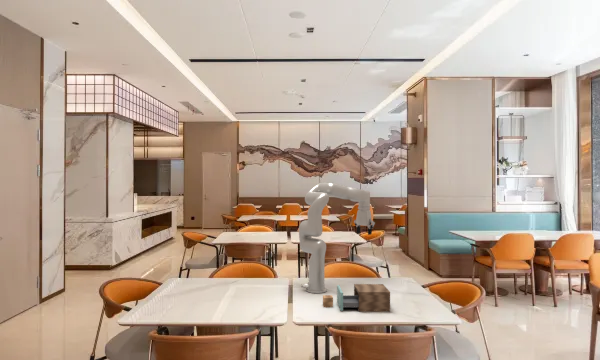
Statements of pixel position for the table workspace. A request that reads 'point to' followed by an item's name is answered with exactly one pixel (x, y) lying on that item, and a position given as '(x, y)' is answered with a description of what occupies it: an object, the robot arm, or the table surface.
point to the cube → (327, 301)
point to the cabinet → (372, 297)
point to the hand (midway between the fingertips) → (364, 233)
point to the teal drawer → (346, 299)
